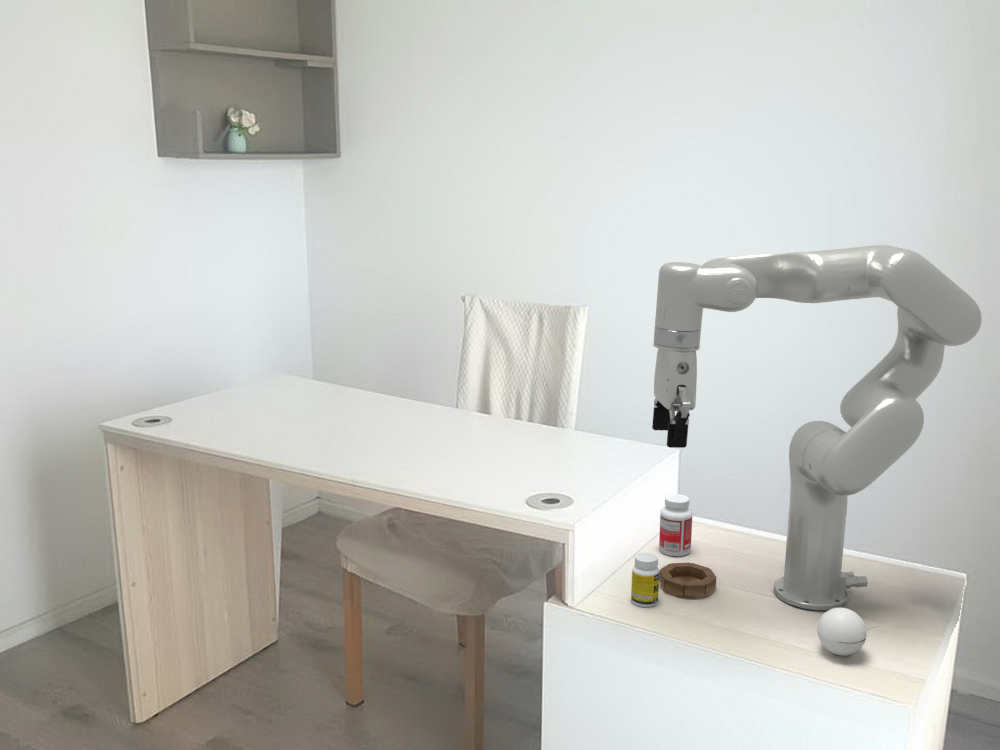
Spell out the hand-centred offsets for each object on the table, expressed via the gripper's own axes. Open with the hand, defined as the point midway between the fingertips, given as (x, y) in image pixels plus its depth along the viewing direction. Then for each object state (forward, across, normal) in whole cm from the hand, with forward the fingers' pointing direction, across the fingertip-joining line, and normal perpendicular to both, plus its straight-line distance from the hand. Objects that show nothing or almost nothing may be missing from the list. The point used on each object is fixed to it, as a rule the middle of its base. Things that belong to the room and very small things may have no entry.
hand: (668, 438), depth 165 cm
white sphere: (+29, -20, -26) cm, 44 cm away
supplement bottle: (+30, 0, +2) cm, 30 cm away
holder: (+30, +5, -7) cm, 31 cm away
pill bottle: (+30, +21, -9) cm, 37 cm away
